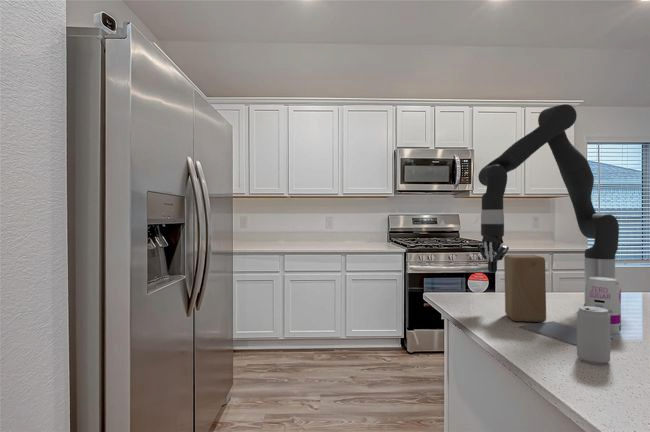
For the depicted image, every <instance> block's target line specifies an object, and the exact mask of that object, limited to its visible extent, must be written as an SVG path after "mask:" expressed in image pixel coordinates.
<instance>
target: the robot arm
mask: <svg viewBox="0 0 650 432" xmlns="http://www.w3.org/2000/svg"><path fill="white" fill-rule="evenodd" d="M577 117H578V116H577V110H576V109H575V108H574V107H573V105H571V104H569V103H560V104H556V105H553V106H551V107H548V108H545V109H543V110H541V111H540V113H539V114H538V119H537V121H538V122H537V123H538V127H536V128H535V129H533V130H532V131H531V132H529V133H528V134H526V135H524V136H523V137H521V138H519V139H518V140H516V141H515V142H514V143H513V144H511V146H509V147H508V148H507V149H506V150H504V151H503V152H502V154H500V155H499V156H498V157H496V158H494V159H493V160H491V162H489V163H487V164H486V165H484V167H482V168H481V170H480V171H479V172H478V176H477V177H478V182H479V183H480V184H481V185H482V186H485V187H486V190H485V192H484V193H483V194H482V196H481V214H480V236H482V239H481V242H480V244H479V243H478V244H477V246H476V247H477V249H478V251H479V252H480V255H481V257H482V258H483V260H486V261H487V270H488V272H489V273H497V271H498V262H499V261H502V260H504V257H505V255H507V252H508V251H509V249H510V248H509V246H506V245H505V243H504V240H503V237H504V236H505V214H504V196H505V193H506V188H507V183H508V173H509V172H511V171H514V170H516V169H517V168H519V167H520V166H521V165H522V164H524V163H525V161H527V160H528V159H529V158H530V157H531V156H532V155H534V153H536V151H538V150H539V149H540V148H541V147H543V146H545V144H548V146H549V148H550V150H551V153H552V155H553V158H554V160H555V162H556V165H557V169H558V170H559V173H560V176H561V178H562V182H563V183H564V186H565V188H566V190H567V193H568V195H569V198H570V201H571V204H572V207H573V210H574V214H575V218H576V222H577V225H578V228H579V231H580V233H581V234H582V235H583V236H584V237H585V238H587V239H591V240H592V239H594V241H593V242H594V243H593V245H592V246H591V247H589V248H586V249H585V250H584V265H583V266H584V296H583V297H584V305H586V282H587V280H588V279H589V277H608V278H615V279H616V254H617V252H618V249H619V235H620V226H619V225H620V224H619V222H618V219H617V218H616V216H614V215H612V214H610V213H597V212H596V210H595V208H594V205H593V201H592V193H593V188H594V182H595V179H594V177H595V176H594V174H593V172H592V169H591V166H590V163H589V161H588V159H587V158H586V157H585V155H584V154H582V153H581V152H580V151H579V150H578V149H577V148H576V147H575V146H574V145H573V144H572V143H571V142H570V140H569V138H568V136H567V134H566V130H568V129H570V128H571V127H572V126H573V125H574V124H575V122H576V121H577Z"/></svg>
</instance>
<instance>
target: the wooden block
mask: <svg viewBox="0 0 650 432" xmlns="http://www.w3.org/2000/svg"><path fill="white" fill-rule="evenodd" d="M503 261H504V262H503V265H504V271H503V272H504V311H505V314H506V316H508V317H509V318H510V320H512V321H514V322H528V323H529V322H530V323H544V322H547V321H546V320H547V291H546V259H545V257H543V256H540V255H537V254H536V255H535V254H505V256H504V257H503Z"/></svg>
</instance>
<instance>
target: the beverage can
mask: <svg viewBox="0 0 650 432" xmlns="http://www.w3.org/2000/svg"><path fill="white" fill-rule="evenodd" d="M578 309H579V310H577V312H576V328H577V345H576V356H577V357H578V358H579V359H580V360H581V361H582V362H584V363H587V364H591V365H606V364H607V363H610V361H611V339H610V337H611V335H610V315H609V314H608V310H607V309H604V308H600V307H592V306H586V305H581V306H579V307H578Z"/></svg>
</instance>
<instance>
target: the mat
mask: <svg viewBox="0 0 650 432" xmlns="http://www.w3.org/2000/svg"><path fill="white" fill-rule="evenodd" d="M518 328H520V329H524V330H528V331H530V332H533V333H535V334H539V335H542V336H546V337H548V338H551V339H555V340H557V341H561V342H564V343H568V344H570V345H573V346H577V326H572V325H568V324H565V323H561V322H559V321H558V322H557V321H555V320H552V321H544V322H535V323H529V324H522V325H518ZM613 339H614V338H613V337H611V336H610V340H613Z"/></svg>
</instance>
